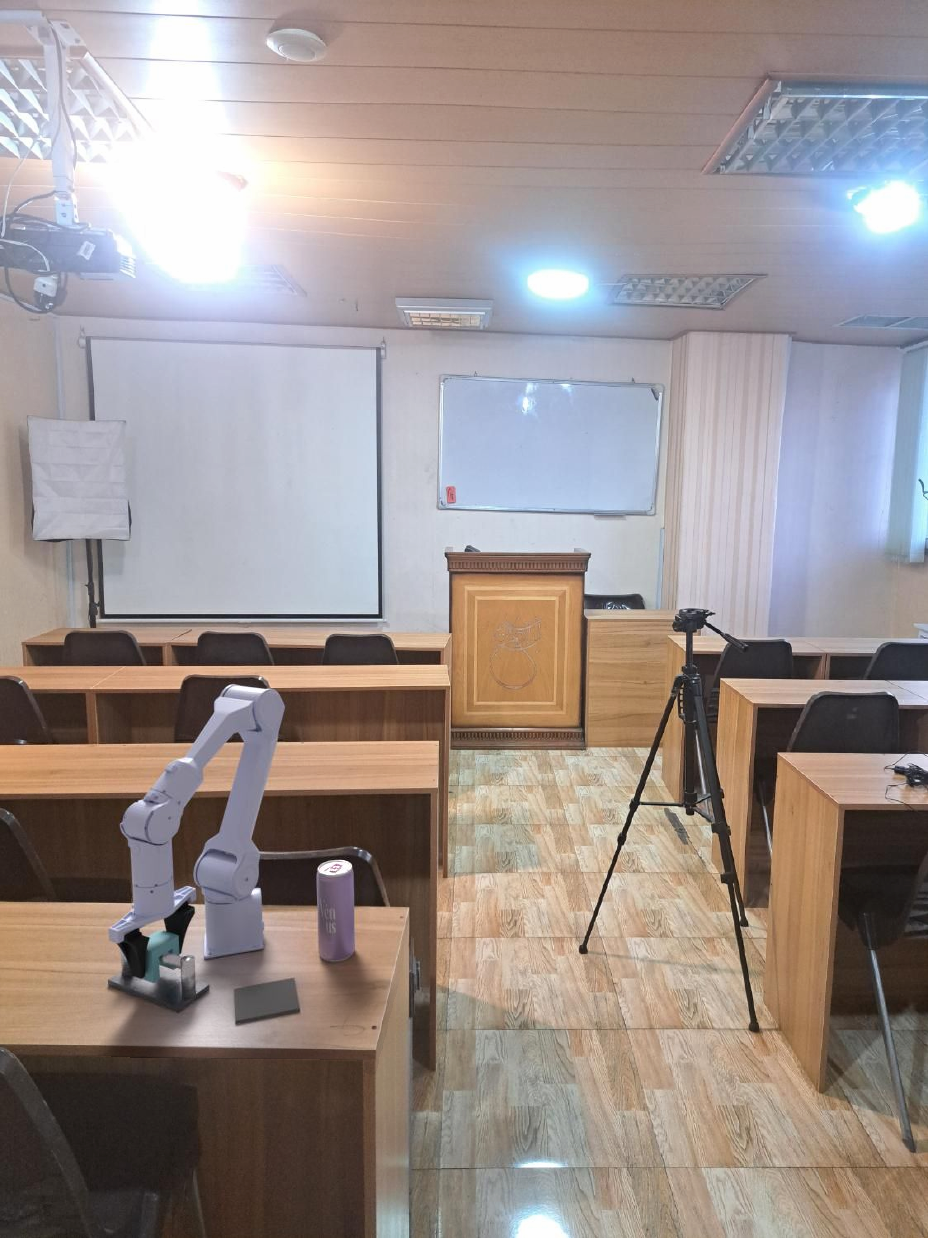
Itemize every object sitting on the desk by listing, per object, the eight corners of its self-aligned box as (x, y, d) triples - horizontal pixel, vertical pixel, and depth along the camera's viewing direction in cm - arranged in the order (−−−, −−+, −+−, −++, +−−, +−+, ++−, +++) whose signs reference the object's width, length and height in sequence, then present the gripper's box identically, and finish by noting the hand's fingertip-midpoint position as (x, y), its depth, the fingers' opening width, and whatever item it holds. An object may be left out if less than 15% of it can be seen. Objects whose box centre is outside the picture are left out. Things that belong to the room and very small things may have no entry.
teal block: (161, 959, 116) (160, 929, 116) (179, 966, 114) (178, 935, 114) (134, 976, 112) (133, 945, 111) (153, 983, 110) (151, 951, 109)
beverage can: (361, 947, 125) (359, 862, 123) (344, 966, 119) (342, 877, 117) (329, 941, 126) (327, 857, 125) (311, 960, 121) (309, 872, 119)
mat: (294, 980, 115) (294, 977, 115) (299, 1011, 108) (299, 1008, 108) (234, 992, 112) (233, 989, 112) (235, 1024, 105) (235, 1021, 105)
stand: (140, 966, 119) (138, 927, 119) (209, 990, 113) (207, 950, 112) (108, 986, 114) (105, 946, 113) (178, 1013, 107) (176, 971, 107)
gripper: (172, 856, 120) (176, 935, 121) (92, 894, 107) (97, 982, 108) (204, 864, 117) (207, 945, 118) (126, 905, 104) (130, 995, 105)
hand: (157, 964), depth 113 cm, fingers open, 6 cm apart
